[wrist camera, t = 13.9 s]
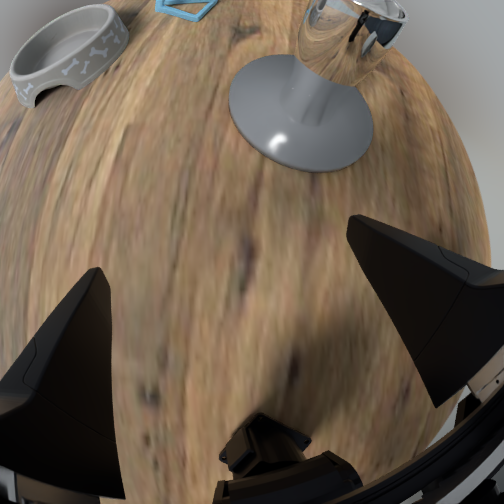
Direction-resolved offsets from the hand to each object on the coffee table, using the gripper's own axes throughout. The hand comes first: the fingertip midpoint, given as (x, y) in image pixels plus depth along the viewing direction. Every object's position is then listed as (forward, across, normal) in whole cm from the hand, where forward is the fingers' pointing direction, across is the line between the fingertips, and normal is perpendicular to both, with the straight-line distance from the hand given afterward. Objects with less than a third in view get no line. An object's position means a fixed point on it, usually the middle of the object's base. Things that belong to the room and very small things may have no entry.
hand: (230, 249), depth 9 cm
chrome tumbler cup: (+20, -12, -2) cm, 23 cm away
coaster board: (+20, -12, -1) cm, 24 cm away
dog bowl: (+33, +16, -13) cm, 39 cm away
